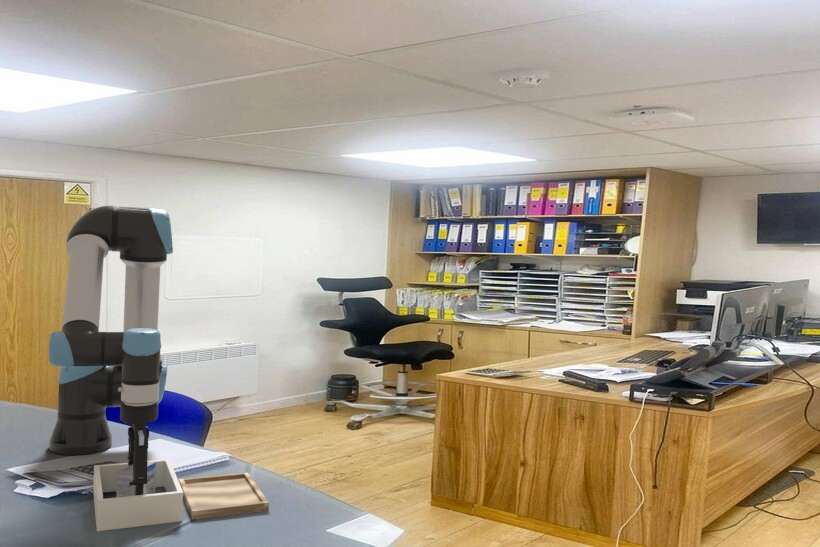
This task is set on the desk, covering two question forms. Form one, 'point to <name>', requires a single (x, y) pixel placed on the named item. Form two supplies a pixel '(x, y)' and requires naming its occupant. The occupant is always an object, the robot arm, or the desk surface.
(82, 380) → the robot arm
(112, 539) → the desk surface
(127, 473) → the medicine box
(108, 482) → the deep bin
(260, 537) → the desk surface
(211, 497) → the oak tray
